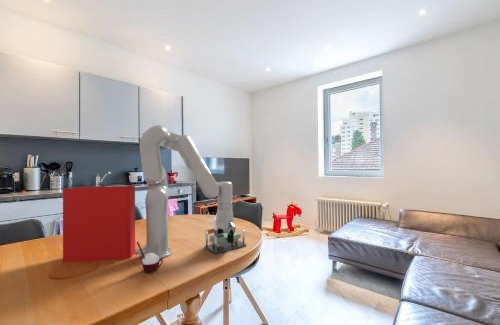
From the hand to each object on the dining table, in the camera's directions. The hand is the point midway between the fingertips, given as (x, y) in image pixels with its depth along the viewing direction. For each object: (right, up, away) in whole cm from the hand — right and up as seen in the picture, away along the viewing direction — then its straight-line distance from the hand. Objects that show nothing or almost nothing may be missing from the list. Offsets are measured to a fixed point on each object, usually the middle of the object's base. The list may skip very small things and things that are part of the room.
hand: (225, 239), depth 117 cm
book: (-55, -4, -12) cm, 57 cm away
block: (-3, -4, +14) cm, 15 cm away
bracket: (-4, -5, +32) cm, 33 cm away
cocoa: (-27, -4, -25) cm, 37 cm away
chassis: (0, -4, 0) cm, 4 cm away
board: (0, 0, 0) cm, 0 cm away
